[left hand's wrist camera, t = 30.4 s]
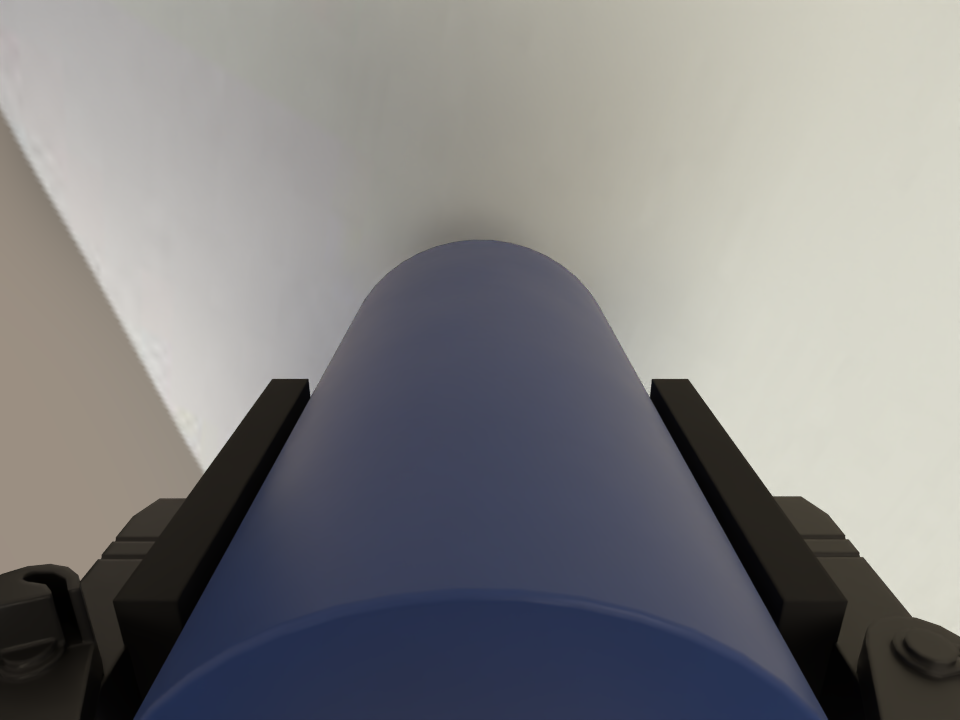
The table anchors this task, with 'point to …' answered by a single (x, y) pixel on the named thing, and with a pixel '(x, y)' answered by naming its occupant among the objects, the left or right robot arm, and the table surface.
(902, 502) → the table surface
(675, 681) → the can
